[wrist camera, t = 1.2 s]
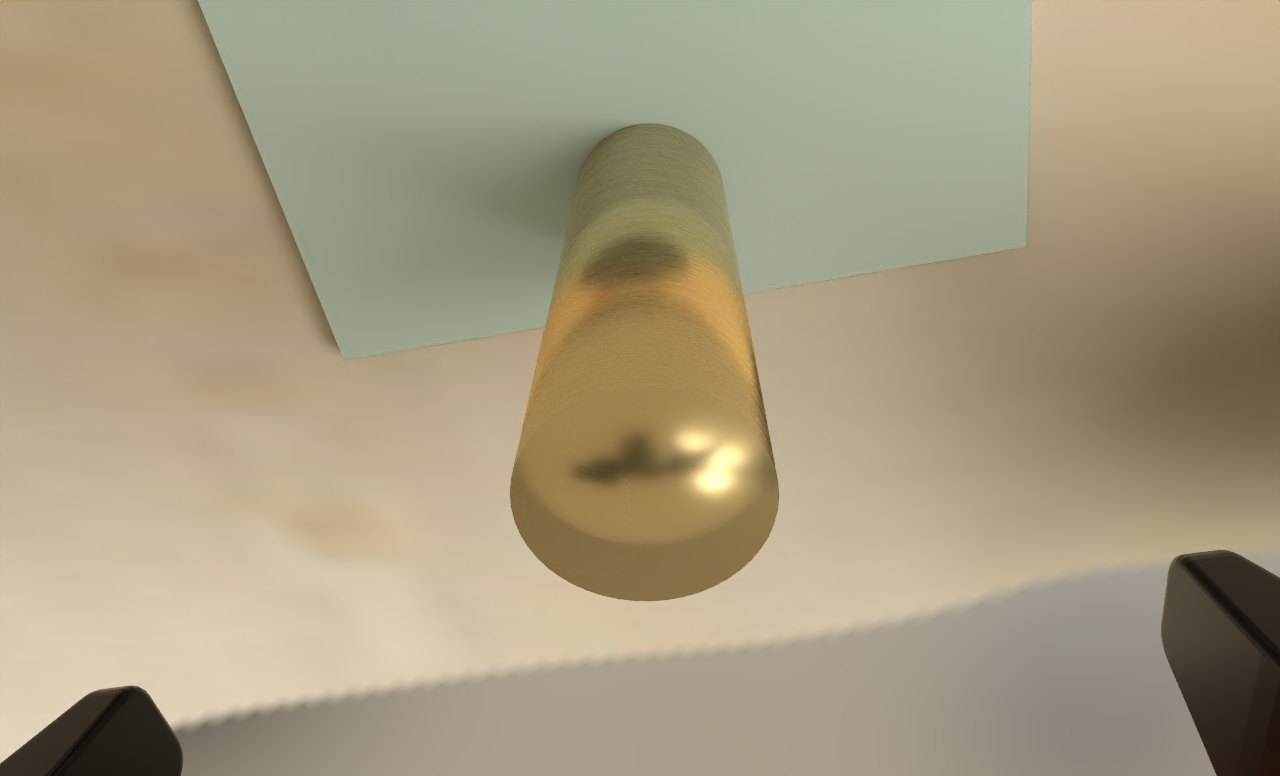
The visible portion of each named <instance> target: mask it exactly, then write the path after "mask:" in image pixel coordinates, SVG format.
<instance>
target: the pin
mask: <svg viewBox="0 0 1280 776" xmlns="http://www.w3.org/2000/svg"><path fill="white" fill-rule="evenodd" d="M510 499H511V508H512V512H513V516H514V520H515V523H516V525H517V528H518V530H519V532H520V534H521V536H522V538H523V539H524V541H525V543H526V544H527V546H528V547H529V548H530V550H531V551H532V552H533V553H534V555H535V556H536V557H537V558H538V559H539V560H540V561H541V562H542V563H543V564H544V565H545V566H546V567H548V568H549V569H550V570H552V571H553V572H554V573H556V574H557V575H558V576H560V577H561V578H563V579H565V580H567V581H568V582H570V583H572V584H574V585H576V586H578V587H581V588H583V589H585V590H587V591H590V592H593V593H597V594H600V595H603V596H607V597H612V598H617V599H624V600H633V601H658V600H669V599H674V598H680V597H685V596H688V595H692V594H695V593H698V592H701V591H704V590H706V589H708V588H711V587H713V586H715V585H717V584H719V583H721V582H723V581H725V580H726V579H728V578H730V577H731V576H732V575H734V574H735V573H737V572H738V571H740V570H741V569H742V568H743V567H744V566H745V565H746V564H747V563H748V562H750V561H751V560H752V558H753V557H754V556H755V555H756V554H757V553H758V551H759V550H760V549H761V547H762V546H763V544H764V543H765V541H766V540H767V538H768V536H769V534H770V532H771V530H772V527H773V525H774V522H775V518H776V514H777V511H778V501H779V490H778V480H777V474H776V469H775V463H774V458H773V453H772V447H771V442H770V436H769V431H768V425H767V420H766V414H765V409H764V404H763V398H762V393H761V387H760V382H759V376H758V371H757V365H756V360H755V355H754V349H753V344H752V338H751V333H750V327H749V322H748V316H747V311H746V306H745V300H744V295H743V289H742V284H741V278H740V273H739V267H738V262H737V256H736V251H735V246H734V240H733V235H732V229H731V224H730V218H729V213H728V207H727V202H726V197H725V191H724V186H723V181H722V176H721V173H720V170H719V168H718V165H717V163H716V162H715V160H714V158H713V156H712V155H711V154H710V152H709V151H708V150H707V149H706V147H705V146H704V145H703V144H702V143H701V142H699V141H698V140H697V139H696V138H694V137H693V136H691V135H690V134H688V133H686V132H685V131H682V130H680V129H678V128H675V127H672V126H668V125H663V124H656V123H645V124H637V125H632V126H628V127H625V128H623V129H620V130H618V131H616V132H614V133H612V134H611V135H609V136H607V137H606V138H605V139H603V140H602V141H601V142H600V143H599V144H598V145H597V146H596V147H595V148H594V149H593V150H592V151H591V153H590V154H589V155H588V157H587V159H586V160H585V162H584V164H583V166H582V169H581V171H580V174H579V178H578V182H577V187H576V191H575V195H574V200H573V204H572V209H571V213H570V218H569V222H568V227H567V231H566V236H565V240H564V245H563V249H562V254H561V258H560V263H559V267H558V272H557V276H556V281H555V285H554V289H553V294H552V298H551V303H550V307H549V312H548V316H547V321H546V325H545V330H544V334H543V339H542V343H541V348H540V352H539V357H538V361H537V366H536V370H535V375H534V379H533V383H532V388H531V392H530V397H529V401H528V406H527V410H526V415H525V419H524V424H523V428H522V433H521V437H520V442H519V446H518V451H517V455H516V460H515V464H514V469H513V473H512V477H511V487H510Z"/></svg>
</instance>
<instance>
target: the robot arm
mask: <svg viewBox="0 0 1280 776" xmlns="http://www.w3.org/2000/svg"><path fill="white" fill-rule="evenodd" d="M1161 637H1162V642H1163V647H1164V651H1165V654H1166V657H1167V659H1168V662H1169V664H1170V667H1171V669H1172V671H1173V674H1174V676H1175V678H1176V681H1177V683H1178V685H1179V688H1180V690H1181V692H1182V695H1183V697H1184V700H1185V702H1186V704H1187V707H1188V709H1189V711H1190V714H1191V716H1192V718H1193V720H1194V723H1195V726H1196V728H1197V730H1198V732H1199V735H1200V737H1201V740H1202V742H1203V744H1204V747H1205V749H1206V751H1207V754H1208V756H1209V759H1210V761H1211V763H1212V765H1213V768H1214V770H1215V773H1216V775H1217V776H1280V577H1277V576H1276V575H1274V574H1272V573H1270V572H1269V571H1267V570H1265V569H1264V568H1262V567H1260V566H1258V565H1256V564H1255V563H1253V562H1251V561H1249V560H1248V559H1246V558H1244V557H1242V556H1240V555H1238V554H1236V553H1234V552H1231V551H1227V550H1216V551H1208V552H1200V553H1192V554H1184V555H1180V556H1178V557H1176V558H1175V559H1173V561H1172V563H1171V564H1170V567H1169V572H1168V578H1167V586H1166V593H1165V601H1164V608H1163V615H1162V623H1161ZM182 764H183V753H182V747H181V744H180V741H179V740H178V738H177V736H176V735H175V733H174V732H173V730H172V729H171V727H170V726H169V724H168V723H167V721H166V720H165V718H164V717H163V715H162V713H161V712H160V710H159V709H158V707H157V706H156V704H155V703H154V701H153V700H152V698H151V697H150V695H149V694H148V693H147V692H146V691H145V690H143V689H142V688H140V687H138V686H124V687H116V688H108V689H100V690H97V691H94V692H92V693H90V694H88V695H86V696H85V697H83V698H82V699H81V700H80V701H78V702H77V703H76V704H75V705H73V706H72V707H71V708H70V709H68V710H67V711H66V712H65V713H63V714H62V715H61V716H60V717H58V718H57V719H56V720H55V721H53V722H52V723H51V724H50V725H48V726H47V727H46V728H44V729H43V730H42V731H41V732H39V733H38V734H37V735H36V736H34V737H33V738H32V739H31V740H29V741H28V742H27V743H26V744H24V745H23V746H22V747H21V748H19V749H18V750H17V751H16V752H14V753H13V754H12V755H11V756H9V757H8V758H7V759H6V760H4V761H3V762H2V763H0V776H181V772H182V766H183V765H182Z"/></svg>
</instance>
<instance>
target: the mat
mask: <svg viewBox="0 0 1280 776" xmlns="http://www.w3.org/2000/svg"><path fill="white" fill-rule="evenodd" d="M198 3H199V5H200V8H201V10H202V13H203V15H204V18H205V20H206V23H207V25H208V28H209V30H210V32H211V35H212V37H213V40H214V42H215V45H216V47H217V50H218V52H219V55H220V57H221V60H222V62H223V64H224V67H225V69H226V72H227V74H228V77H229V79H230V82H231V84H232V87H233V89H234V91H235V94H236V96H237V99H238V101H239V104H240V106H241V109H242V111H243V114H244V116H245V119H246V121H247V123H248V126H249V128H250V131H251V133H252V136H253V138H254V141H255V143H256V146H257V148H258V151H259V153H260V155H261V158H262V160H263V163H264V165H265V168H266V170H267V173H268V175H269V178H270V180H271V183H272V185H273V187H274V190H275V192H276V195H277V197H278V200H279V202H280V205H281V207H282V210H283V212H284V215H285V217H286V219H287V222H288V224H289V227H290V229H291V232H292V234H293V237H294V239H295V242H296V244H297V247H298V249H299V251H300V254H301V256H302V259H303V261H304V264H305V266H306V269H307V271H308V274H309V276H310V279H311V281H312V283H313V286H314V288H315V291H316V293H317V296H318V298H319V301H320V303H321V306H322V308H323V311H324V313H325V315H326V318H327V320H328V323H329V325H330V328H331V330H332V333H333V335H334V338H335V340H336V343H337V345H338V347H339V350H340V352H341V355H342V357H343V360H350V359H356V358H362V357H368V356H375V355H381V354H387V353H393V352H399V351H405V350H411V349H417V348H423V347H429V346H435V345H441V344H447V343H453V342H459V341H465V340H471V339H477V338H483V337H489V336H495V335H501V334H507V333H513V332H519V331H525V330H531V329H537V328H543V327H545V325H546V321H547V316H548V312H549V307H550V303H551V298H552V294H553V289H554V285H555V281H556V276H557V272H558V267H559V263H560V258H561V254H562V249H563V245H564V240H565V236H566V231H567V227H568V222H569V218H570V213H571V209H572V204H573V200H574V195H575V191H576V187H577V182H578V178H579V174H580V171H581V169H582V166H583V164H584V162H585V160H586V159H587V157H588V155H589V154H590V153H591V151H592V150H593V149H594V148H595V147H596V146H597V145H598V144H599V143H600V142H601V141H602V140H603V139H605V138H606V137H607V136H609V135H611V134H612V133H614V132H616V131H618V130H620V129H623V128H625V127H628V126H632V125H637V124H645V123H656V124H663V125H668V126H672V127H675V128H678V129H680V130H682V131H685V132H686V133H688V134H690V135H691V136H693V137H694V138H696V139H697V140H698V141H699V142H701V143H702V144H703V145H704V146H705V147H706V149H707V150H708V151H709V152H710V154H711V155H712V156H713V158H714V160H715V162H716V163H717V165H718V168H719V170H720V173H721V176H722V181H723V186H724V191H725V197H726V202H727V207H728V213H729V218H730V224H731V229H732V235H733V240H734V246H735V251H736V256H737V262H738V267H739V273H740V278H741V284H742V289H743V294H748V293H754V292H760V291H766V290H772V289H778V288H784V287H790V286H796V285H802V284H808V283H814V282H820V281H826V280H832V279H838V278H844V277H850V276H856V275H862V274H868V273H874V272H880V271H886V270H892V269H898V268H904V267H910V266H916V265H922V264H928V263H934V262H940V261H946V260H952V259H958V258H964V257H970V256H976V255H982V254H988V253H994V252H1000V251H1006V250H1012V249H1018V248H1024V247H1027V201H1028V153H1029V105H1030V57H1031V9H1032V0H198Z"/></svg>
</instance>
